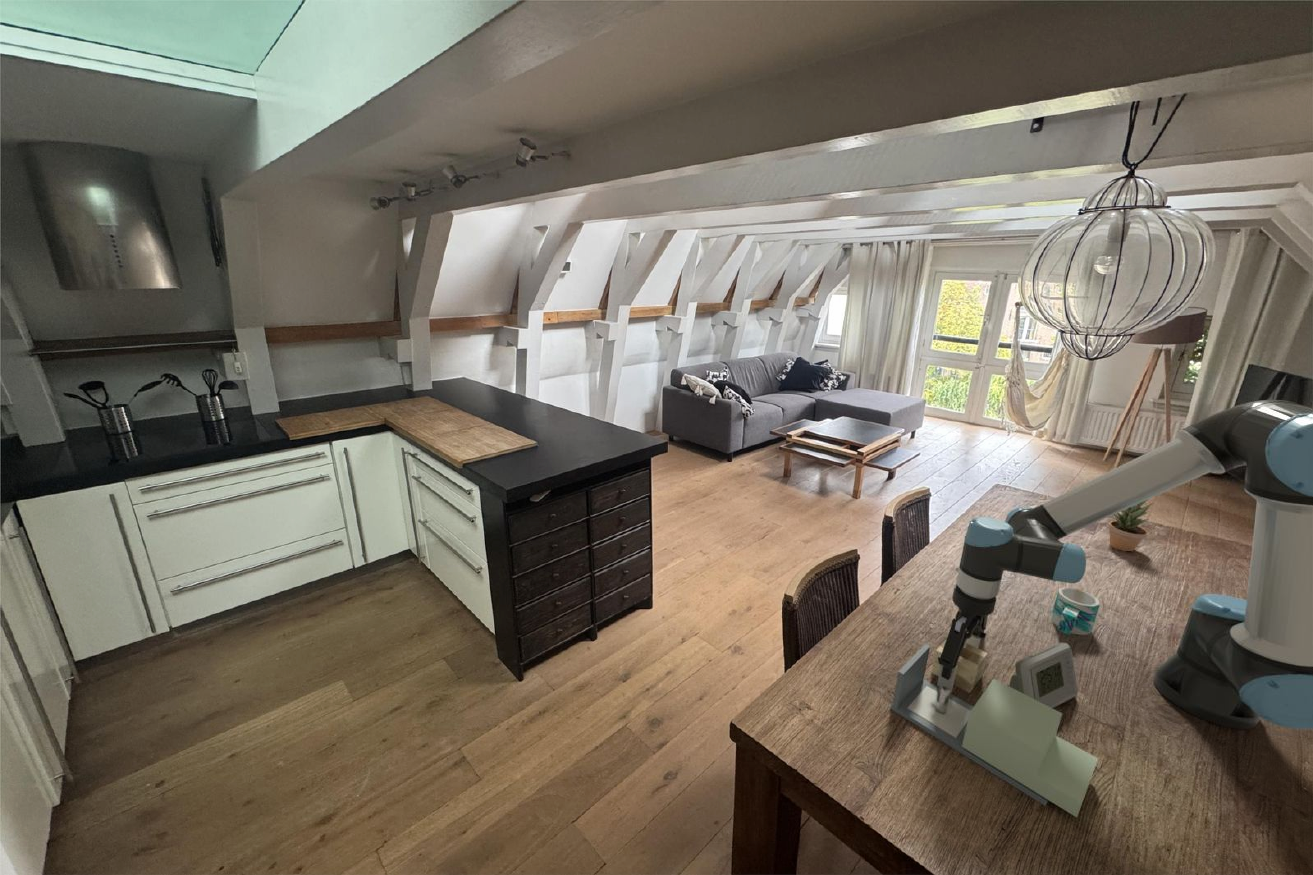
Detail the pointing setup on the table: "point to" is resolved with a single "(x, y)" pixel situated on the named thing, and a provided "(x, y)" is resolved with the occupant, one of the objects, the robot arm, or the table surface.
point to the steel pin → (942, 700)
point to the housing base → (919, 708)
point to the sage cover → (1028, 745)
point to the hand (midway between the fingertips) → (956, 673)
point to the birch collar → (965, 666)
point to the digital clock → (1047, 675)
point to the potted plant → (1128, 528)
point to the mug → (1075, 611)
